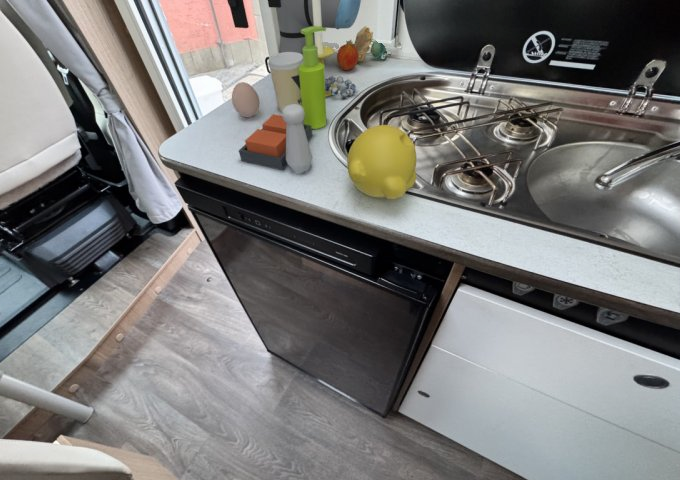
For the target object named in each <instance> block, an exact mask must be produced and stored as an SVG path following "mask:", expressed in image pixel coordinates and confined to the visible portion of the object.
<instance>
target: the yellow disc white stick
mask: <svg viewBox="0 0 680 480" xmlns="http://www.w3.org/2000/svg"><path fill="white" fill-rule="evenodd" d="M312 7H313V22H314V26H321V27H322V21H321V0H312ZM314 37H315V46H316V47H317V48H318V62H319V63H322V64H323V65H324V66H325V58H329V57H331V56H333V55H334V54H335V49H334V48H333V47H330V46H324V44H323V43H324V42H323V31H317V32H314ZM324 79H326V71H325V67H324ZM330 85H331V87H332V88H334V87H336V88H337V89H338V86H337V85H336V84H335V83H333V84H330ZM338 90H339V89H338ZM330 96H333V95H332V93H331V91H326V90H325V98H326V97H330Z"/></svg>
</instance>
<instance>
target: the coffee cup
mask: <svg viewBox="0 0 680 480" xmlns="http://www.w3.org/2000/svg"><path fill="white" fill-rule="evenodd" d="M301 64H303V55H302V54H300V53H296V52H283V53H279V52H278V53H275V54H273V55H271V56H270V57H269V58H268V63H267V65H268V68H269V71H270V75H271V80H272V84H273V88H274V93H275V97H276V101H277V106H278V109H279V111H280V112H282V110H283V109H284V107H286V106H287V105H291V104H297V105H300V106H302V98H301V88H300V78H299V68H298V67H299V66H300V65H301Z"/></svg>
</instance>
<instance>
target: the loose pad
mask: <svg viewBox="0 0 680 480" xmlns="http://www.w3.org/2000/svg"><path fill="white" fill-rule="evenodd" d="M302 122H303V123H304V120H303V121H302ZM261 127H262V128H263V130H267V131H272V132H278V133H283V134H286V122H284V120H283V116H282V114H274V113H273V114H272V115H270V117H269V118H267V119H266V120H265V121H264V122H263V123H262V124H261Z"/></svg>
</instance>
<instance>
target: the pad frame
mask: <svg viewBox="0 0 680 480" xmlns="http://www.w3.org/2000/svg"><path fill="white" fill-rule="evenodd" d="M303 126H304V129H305V133H306V137H307V140H308V141H309V140H310V139H311V138H312V137H313V129H312V126H311V125H305V124H304V123H303ZM261 130H263V127H262V128H261ZM238 153H239V157H240V160H241V162H244V163H248V164H254V165H258V166H262V167H267V168H271V169H276V170H280V171H284V170H285V169H286V167H287V166H289V165H288V164H287V161H286V151H285V152H284V153H283V154H282V155H281V156H280V157H276V156H271V155H266V154H261V153H257V152H252V151H248V150H247V146H246V143H245V144H244V145H242V147H241V148H240V149H239V150H238Z"/></svg>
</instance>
